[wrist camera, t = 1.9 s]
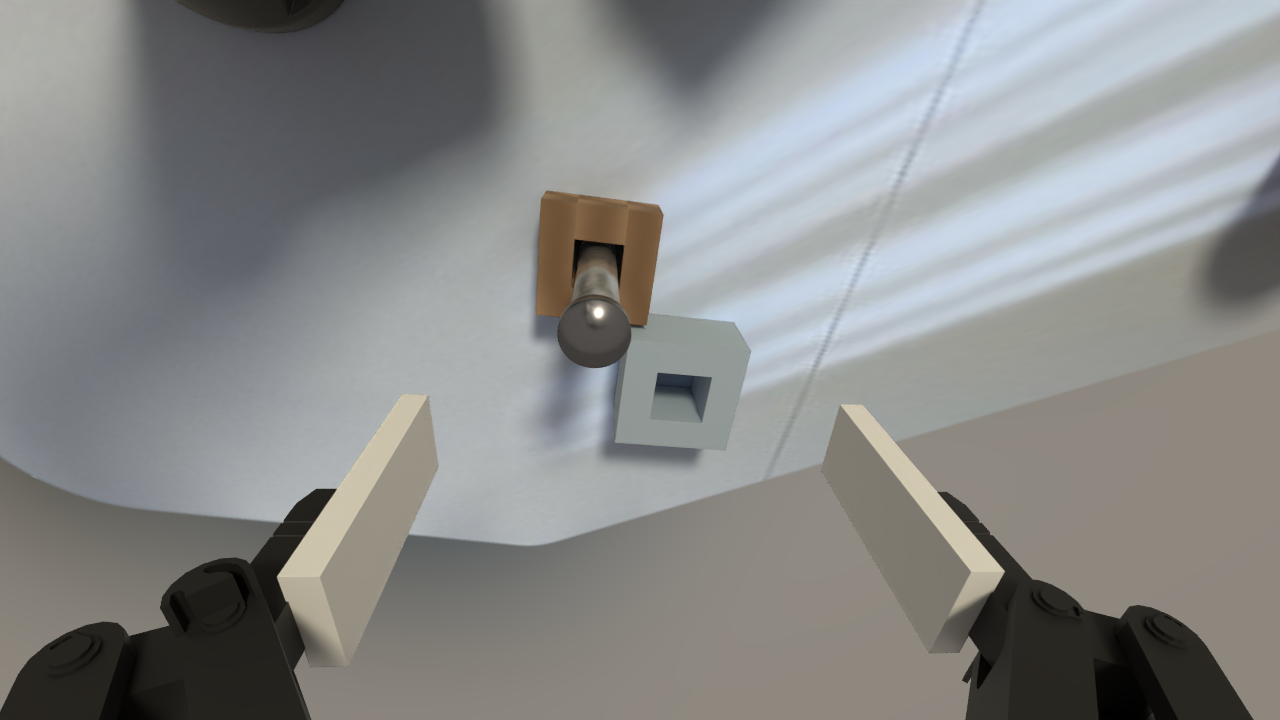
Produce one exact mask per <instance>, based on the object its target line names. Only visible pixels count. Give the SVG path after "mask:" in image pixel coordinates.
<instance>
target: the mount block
mask: <svg viewBox="0 0 1280 720" xmlns="http://www.w3.org/2000/svg"><path fill="white" fill-rule="evenodd" d="M662 221H663V213H662V211H661V209H660V207H659V205H655V204H647V203H639V202H631V201H623V200H616V199H608V198H600V197H592V196H584V195H576V194H569V193H561V192H553V191H546V192H545V194H544V195H543V197H542V199H541V211H540V234H539V256H538V279H537V301H536V315H545V316H555V317H561V315H562V313H563V311H564V309H565V308H566V307H567V306H568V305H569V304H570V303H571V302H572V298H573V292H574V285H575V279H576V273H577V272H574V260H575V247H576V239H577V240H585V241H594V242H602V243H611V244H619V245H621V253H620V262H619V270H618V288H619V300H620V305H621V306H622V307H623V308H624V309H625V311H626V312H627V314H628V317H629V320H630V324H636V325H646V326H647V321H648V314H649V307H650V301H651V294H652V288H653V281H654V274H655V268H656V261H657V255H658V248H659V241H660V235H661V228H662Z"/></svg>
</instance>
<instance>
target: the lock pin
mask: <svg viewBox="0 0 1280 720" xmlns="http://www.w3.org/2000/svg"><path fill="white" fill-rule="evenodd" d="M558 342H559V345H560V347H561V349H562V351H563V352H564V354H565V355H566V356H567V357H568V358H569V359H570V360H572V361H573V362H575V363H576V364H578V365H581V366H584V367H588V368H602V367H606V366H609V365H611V364H614V363H615V362H617V361H618V360H619V359H621V358H622V357H623V356H624V354H625V353H626V352H627V350H628V348H629V346H630V342H631V325H630V320H629V317H628V314H627V312H626V311H625V309H624V308H623V307H622V306H621V305H620V300H619V288H618V275H617V263H616V251H615V247H614V245H613V244H611V243H602V242H594V241H584V242H583V243H582V245H581V248H580V254H579V260H578V266H577V273H576V279H575V285H574V292H573V298H572V302H571V303H570V304H569V305H568V306H567V307H566V308H565V309H564V311H563V313H562V315H561V318H560V321H559V326H558Z"/></svg>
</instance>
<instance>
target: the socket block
mask: <svg viewBox="0 0 1280 720" xmlns="http://www.w3.org/2000/svg"><path fill="white" fill-rule="evenodd" d="M630 325H631V342H630V346H629V348H628V350H627V352H626V353H625V354H624V356H623V357H622V358H621V359H620V362H619V369H618V377H617V385H616V392H615V400H614V429H615V443H626V444H640V445H654V446H669V447H683V448H697V449H711V450H726V447H727V443H728V439H729V435H730V431H731V427H732V423H733V419H734V416H735V412H736V408H737V404H738V400H739V396H740V392H741V389H742V385H743V381H744V377H745V373H746V369H747V365H748V361H749V358H750V354H751V350H750V348H749V347H748V345H747V343H746V342H745V340H744V338H743V337H742V335H741V333H740V332H739V330H738V328H737V327H736V325H735V323H734V322H724V321H714V320H705V319H695V318H685V317H675V316H665V315H655V314H648V321H647V326H646V325H636V324H630ZM657 373H669V374H681V375H692V376H694V377H693V382H692V387H691V389H690V388H679V387H667V386H655V385H656V379H657Z"/></svg>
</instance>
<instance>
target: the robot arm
mask: <svg viewBox="0 0 1280 720" xmlns="http://www.w3.org/2000/svg"><path fill="white" fill-rule="evenodd" d="M175 1H177V2H178V3H180V4H182V5H183V6H185V7H187V8H189V9H191V10H193V11H195V12H197V13H199V14H201V15H203V16H205V17H208V18H210V19H212V20H215V21H218V22H221V23H224V24H227V25H231V26H235V27H240V28H244V29H249V30H254V31H259V32H267V33H286V32H293V31H298V30H302V29H305V28H308V27H310V26H312V25H315V24H317V23H319V22H320V21H322V20H324V19H325V18H326V17H328V16H329V15H330V14H332V13H333V12H334V11H335V10H336V9H337V8H338V7H339V6H340V5H341V4H342V2H343V1H344V0H175ZM438 467H439V466H438V459H437V452H436V445H435V438H434V431H433V424H432V417H431V410H430V403H429V396H428V395H405V394H402V396H401V397H400V399H399V400H398V401H397V403H396V404H395V406H394V407H393V409H392V410H391V412H390V413H389V415H388V416H387V417H386V419H385V420H384V422H383V423H382V425H381V426H380V428H379V429H378V431H377V432H376V433H375V435H374V436H373V438H372V439H371V441H370V442H369V444H368V445H367V447H366V448H365V450H364V451H363V452H362V454H361V455H360V457H359V458H358V460H357V461H356V463H355V464H354V466H353V467H352V468H351V470H350V471H349V473H348V474H347V476H346V477H345V479H344V480H343V482H342V483H341V484H340V486H339V487H338V489H315V490H314V491H313V492H311V493H310V494H309V495H307V496H306V497H304V498H303V499H302V500H300V501H299V502H298V503H296V505H295V506H294V507H293V509H292V510H291V511H290V512H289V514H288V515H287V516H286V518H285V519H284V522H283V523H281V524H280V526H279V527H278V528H277V530H276V531H275V532H274V534H273V537H270V539H269V540H268V541H267V543H266V544H265V545H264V547H263V548H262V549H261V550H260V552H259V553H258V554H257V556H256V557H255V558H254V560H253V561H252V562H251V563H250V564H249V563H248V562H247V561H246V560H243V559H239V558H223V559H218V560H214V561H211V562H208V563H205V564H202V565H200V566H198V567H196V568H194V569H193V570H191V571H189V572H187V573H185V574H184V575H183V576H182V577H180V578H179V579H178V580H177V581H175V582H174V583H173V584H172V585H171V586H170V587H169V589H168V590H167V591H166V593H165V594H164V595H163V597H162V601H161V606H160V609H161V611H162V612H163V614H164V616H165V618H166V620H167V621H168V623H169V625H170V626H166V627H162V628H159V629H154V630H151V631H147V632H143V633H139V634H135V635H131V636H128V634H127V632H126V630H125V629H124V628H123V627H122V626H120V625H119V624H118V623H112V622H100V623H94V624H89V625H85V626H83V627H80V628H78V629H76V630H73V631H71V632H68V633H66V634H64V635H62V636H61V637H59V638H57V639H56V640H54V641H52V642H51V643H49V644H47V645H46V646H44V647H43V648H42V649H41V650H40V651H39V652H37V653H36V654H35V655H34V656H33V657H32V658H30V659H29V660H28V662H27V663H26V665H25V666H24V667H23V668H22V670H21V671H20V673H19V674H18V676H17V678H16V680H15V682H14V684H13V686H12V688H11V690H10V692H9V694H8V697H7V699H6V701H5V703H4V705H3V707H2V709H1V711H0V720H311V717H310V715H309V712H308V709H307V706H306V703H305V701H304V698H303V695H302V692H301V689H300V686H299V684H298V681H297V678H296V675H295V673H294V669H295V667H296V665H297V663H298V661H299V659H300V657H301V656H302V654H303V652H304V651H305V654H306V657H307V659H308V662H309V665H310V667H346V666H347V667H348V666H349V664H350V661H351V659H352V657H353V655H354V653H355V650H356V648H357V646H358V644H359V641H360V639H361V637H362V635H363V633H364V630H365V628H366V626H367V624H368V621H369V619H370V617H371V615H372V613H373V611H374V608H375V606H376V604H377V602H378V600H379V597H380V595H381V593H382V591H383V588H384V586H385V584H386V582H387V580H388V577H389V575H390V573H391V571H392V568H393V566H394V564H395V562H396V560H397V557H398V555H399V553H400V551H401V549H402V546H403V544H404V542H405V540H406V538H407V535H408V533H409V531H410V529H411V526H412V524H413V522H414V520H415V518H416V515H417V513H418V511H419V509H420V507H421V504H422V502H423V500H424V498H425V496H426V493H427V491H428V489H429V487H430V484H431V482H432V480H433V478H434V476H435V473H436V471H437V469H438ZM821 472H822V473H823V475H824V477H825V478H826V480H827V482H828V484H829V485H830V487H831V489H832V490H833V492H834V494H835V495H836V497H837V499H838V500H839V502H840V504H841V506H842V507H843V509H844V511H845V512H846V514H847V516H848V517H849V519H850V521H851V522H852V524H853V526H854V527H855V529H856V531H857V533H858V534H859V536H860V537H861V539H862V541H863V543H864V544H865V546H866V548H867V549H868V551H869V553H870V555H871V556H872V558H873V560H874V561H875V563H876V565H877V566H878V568H879V570H880V571H881V573H882V575H883V576H884V578H885V580H886V582H887V583H888V585H889V587H890V588H891V590H892V592H893V593H894V595H895V597H896V598H897V600H898V602H899V604H900V605H901V607H902V609H903V610H904V612H905V614H906V615H907V617H908V619H909V621H910V622H911V624H912V626H913V627H914V629H915V631H916V632H917V634H918V636H919V637H920V639H921V641H922V642H923V644H924V646H925V648H926V649H927V651H928V653H957V652H958V653H959V652H960V650H961V648H962V647H963V645H964V643H965V641H966V640H967V638H968V636H970V638H971V639H972V641H973V642H974V644H975V645H976V646H977V648H978V650H979V652H978V653H977V655H976V657H975V658H974V660H973V662H972V663H971V665H970V667H969V668H968V670H967V672H966V674H965V676H964V678H963V680H962V681H964V682H966V683H968V681H969V680H970V678H971V683H970V691H969V699H968V705H967V713H966V720H1253V718H1252V717H1251V715H1250V714H1249V712H1248V711H1247V709H1246V707H1245V706H1244V704H1243V703H1242V701H1241V699H1240V698H1239V696H1238V695H1237V693H1236V692H1235V690H1234V688H1233V687H1232V686H1231V684H1230V682H1229V681H1228V679H1227V677H1226V676H1225V674H1224V673H1223V671H1222V670H1221V668H1220V666H1219V665H1218V663H1217V662H1216V660H1215V659H1214V657H1213V655H1212V654H1211V652H1210V651H1209V649H1208V648H1207V646H1206V645H1205V644H1204V642H1203V641H1202V640H1201V639H1200V638H1199V637H1198V635H1197V634H1195V633H1194V632H1193V631H1192V630H1190V629H1189V628H1188V627H1187V626H1186V625H1184V624H1183V623H1181V622H1180V621H1178V620H1177V619H1175V618H1173V617H1172V616H1170V615H1168V614H1166V613H1163V612H1161V611H1158V610H1156V609H1154V608H1151V607H1146V606H1140V605H1136V606H1130V607H1129V608H1128V609H1127V610H1126V612H1125V613H1124V614H1123V616H1122V617H1121V618H1120V619H1118V618H1114V617H1110V616H1106V615H1102V614H1098V613H1094V612H1091V611H1087V610H1084V609H1083V608H1082V607H1081V606H1080V604H1079V603H1078V602H1077V601H1076V600H1075V599H1073V598H1072V597H1071V596H1070V595H1068V594H1067V593H1066V592H1064V591H1062V590H1060V589H1059V588H1057V587H1055V586H1053V585H1051V584H1048V583H1046V582H1043V581H1039V580H1032V578H1031V577H1030V576H1029V575H1028V574H1027V573H1026V572H1025V571H1024V570H1023V569H1022V567H1021V566H1020V565H1019V564H1018V563H1017V562H1016V561H1015V560H1014V558H1013V557H1012V556H1011V555H1010V554H1009V553H1008V552H1007V551H1006V550H1005V548H1004V547H1003V546H1002V545H1001V544H1000V543H999V542H998V541H997V540H996V538H995V537H994V536H992V535H990V532H989V531H988V530H987V528H986V527H985V526H984V525H983V524H982V523H979V520H978V518H977V517H976V516H975V515H974V514H973V513H972V512H971V511H970V510H969V508H968V507H967V506H966V505H965V504H963V503H962V502H960V501H959V500H957V499H956V498H955V497H953V496H952V495H950V494H949V493H948V492H936V491H935V489H934V488H933V487H932V486H931V485H930V484H929V482H928V481H927V480H926V479H925V478H924V476H923V475H922V474H921V473H920V472H919V471H918V469H917V468H916V467H915V466H914V465H913V464H912V462H911V461H910V460H909V459H908V458H907V457H906V455H905V454H904V453H903V452H902V451H901V450H900V448H899V447H898V446H897V445H896V444H895V443H894V441H893V440H892V439H891V438H890V437H889V436H888V434H887V433H886V432H885V431H884V430H883V428H882V427H881V426H880V425H879V424H878V423H877V421H876V420H875V419H874V418H873V417H872V416H871V414H870V413H869V412H868V411H867V410H866V409H865V407H864V406H863V405H840V407H839V410H838V414H837V417H836V421H835V424H834V427H833V431H832V434H831V438H830V441H829V445H828V448H827V452H826V455H825V458H824V462H823V465H822V469H821Z"/></svg>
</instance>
